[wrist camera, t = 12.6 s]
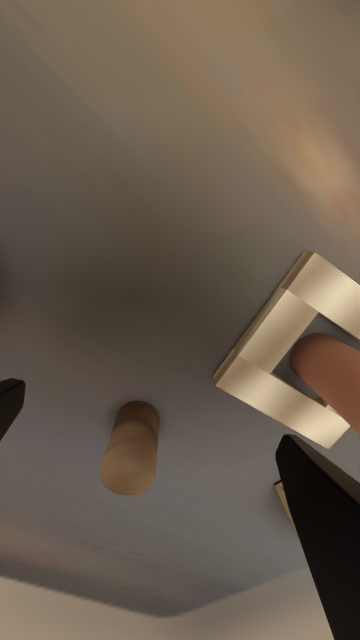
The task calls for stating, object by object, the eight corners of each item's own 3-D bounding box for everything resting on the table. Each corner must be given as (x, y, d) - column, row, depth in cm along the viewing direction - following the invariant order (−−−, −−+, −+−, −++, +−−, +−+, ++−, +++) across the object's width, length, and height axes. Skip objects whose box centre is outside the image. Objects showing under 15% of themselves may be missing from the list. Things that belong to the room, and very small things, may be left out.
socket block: (212, 376, 23) (215, 385, 21) (303, 251, 20) (314, 252, 18) (318, 436, 25) (328, 449, 23) (414, 332, 22) (432, 339, 20)
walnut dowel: (109, 425, 24) (89, 482, 18) (130, 394, 23) (116, 442, 17) (145, 443, 24) (137, 502, 19) (167, 413, 23) (165, 466, 18)
